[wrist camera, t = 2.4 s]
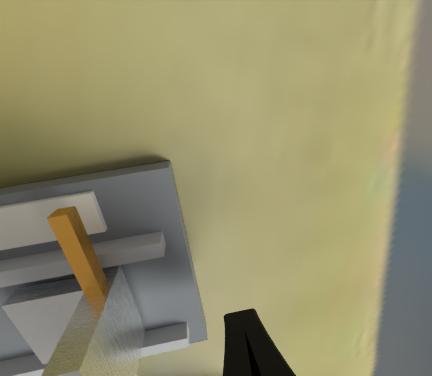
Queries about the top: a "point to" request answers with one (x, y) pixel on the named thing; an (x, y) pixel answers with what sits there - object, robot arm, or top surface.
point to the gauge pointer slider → (80, 312)
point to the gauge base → (103, 252)
